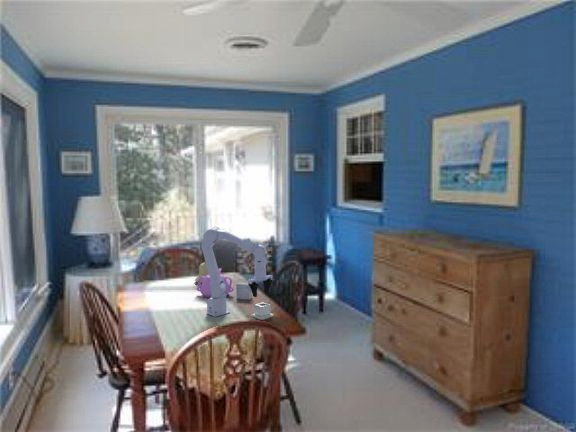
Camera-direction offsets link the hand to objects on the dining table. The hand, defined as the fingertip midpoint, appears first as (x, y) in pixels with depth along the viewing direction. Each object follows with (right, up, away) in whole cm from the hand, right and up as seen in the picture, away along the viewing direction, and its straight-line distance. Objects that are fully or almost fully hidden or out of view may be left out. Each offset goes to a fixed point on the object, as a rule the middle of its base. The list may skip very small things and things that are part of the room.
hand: (260, 295), depth 235 cm
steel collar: (+1, -9, -2) cm, 9 cm away
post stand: (+1, -10, -2) cm, 10 cm away
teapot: (-29, -6, +40) cm, 49 cm away
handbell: (-39, -3, +69) cm, 80 cm away
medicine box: (-11, -7, +30) cm, 33 cm away
